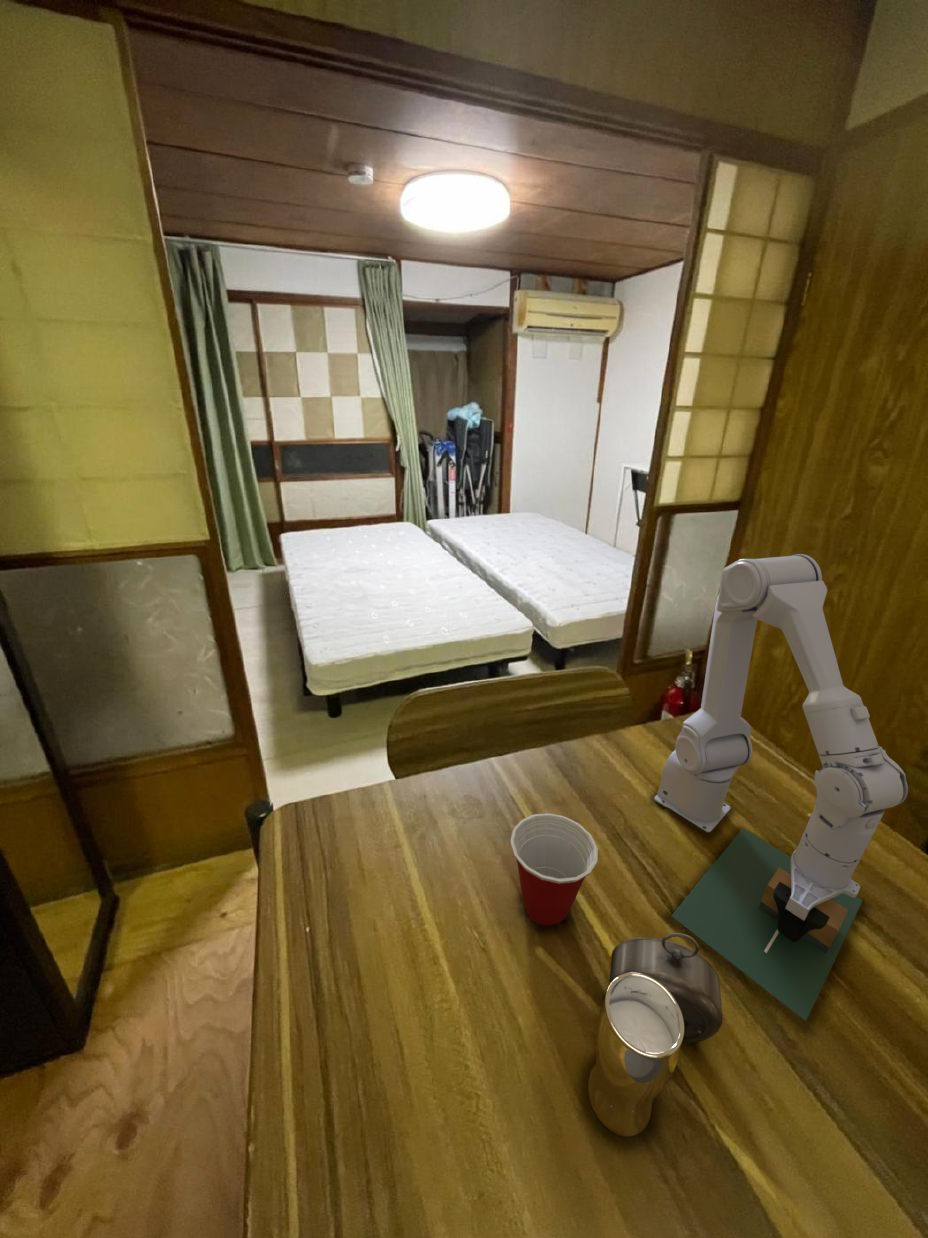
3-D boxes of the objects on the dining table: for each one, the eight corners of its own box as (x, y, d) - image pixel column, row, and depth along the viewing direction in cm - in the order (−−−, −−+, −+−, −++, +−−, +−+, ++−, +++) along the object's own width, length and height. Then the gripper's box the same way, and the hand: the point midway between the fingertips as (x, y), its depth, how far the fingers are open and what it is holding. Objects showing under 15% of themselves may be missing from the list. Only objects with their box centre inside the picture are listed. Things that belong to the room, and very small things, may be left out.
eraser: (758, 907, 68) (767, 884, 66) (770, 889, 71) (779, 867, 69) (826, 953, 63) (838, 930, 61) (836, 932, 65) (848, 910, 64)
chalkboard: (670, 919, 67) (671, 916, 67) (741, 830, 81) (742, 828, 80) (804, 1024, 57) (806, 1021, 56) (861, 903, 70) (863, 900, 70)
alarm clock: (704, 1019, 57) (741, 927, 50) (708, 1076, 52) (749, 984, 45) (603, 983, 60) (625, 892, 53) (599, 1034, 56) (621, 942, 48)
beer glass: (574, 1057, 54) (592, 972, 47) (639, 1051, 54) (665, 966, 48) (595, 1147, 48) (619, 1065, 41) (668, 1139, 48) (702, 1056, 41)
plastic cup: (594, 888, 71) (606, 826, 66) (576, 960, 63) (587, 896, 57) (521, 859, 75) (526, 798, 70) (493, 923, 67) (497, 859, 61)
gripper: (854, 904, 54) (813, 980, 60) (889, 831, 62) (850, 903, 68) (781, 860, 58) (750, 934, 64) (823, 797, 67) (792, 868, 73)
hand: (797, 916), depth 67 cm, fingers open, 7 cm apart
